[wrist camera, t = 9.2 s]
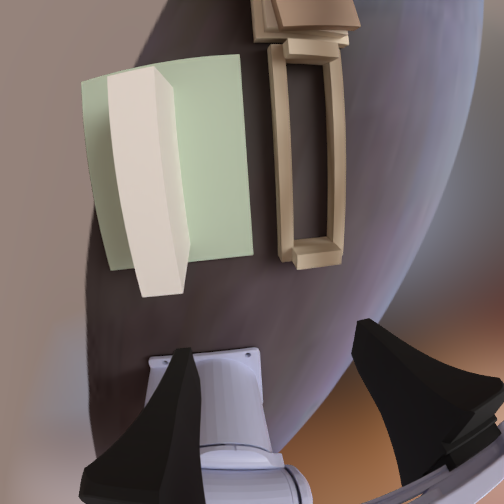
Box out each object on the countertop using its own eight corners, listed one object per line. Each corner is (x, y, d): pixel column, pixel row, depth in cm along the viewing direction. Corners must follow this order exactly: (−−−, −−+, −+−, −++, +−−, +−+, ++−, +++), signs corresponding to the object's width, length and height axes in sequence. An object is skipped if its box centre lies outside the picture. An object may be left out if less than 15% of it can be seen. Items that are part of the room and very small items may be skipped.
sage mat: (113, 266, 19) (110, 270, 18) (84, 83, 14) (81, 82, 13) (252, 251, 20) (253, 254, 19) (238, 56, 15) (239, 54, 14)
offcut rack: (266, 256, 20) (275, 276, 18) (247, -28, 12) (254, -49, 9) (345, 247, 21) (364, 264, 18) (332, -19, 12) (349, -36, 10)
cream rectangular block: (160, 248, 18) (142, 297, 13) (140, 93, 14) (107, 76, 9) (190, 244, 18) (183, 293, 13) (173, 87, 14) (154, 65, 9)
